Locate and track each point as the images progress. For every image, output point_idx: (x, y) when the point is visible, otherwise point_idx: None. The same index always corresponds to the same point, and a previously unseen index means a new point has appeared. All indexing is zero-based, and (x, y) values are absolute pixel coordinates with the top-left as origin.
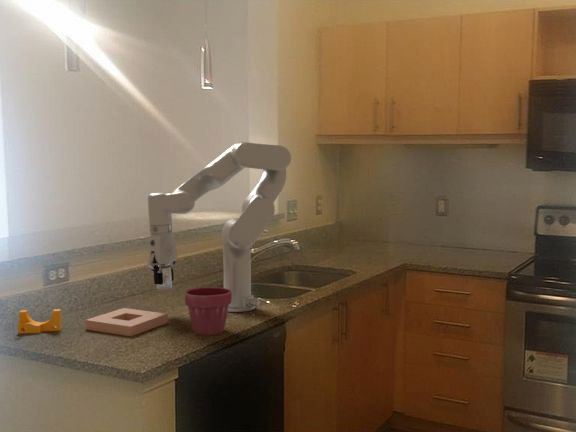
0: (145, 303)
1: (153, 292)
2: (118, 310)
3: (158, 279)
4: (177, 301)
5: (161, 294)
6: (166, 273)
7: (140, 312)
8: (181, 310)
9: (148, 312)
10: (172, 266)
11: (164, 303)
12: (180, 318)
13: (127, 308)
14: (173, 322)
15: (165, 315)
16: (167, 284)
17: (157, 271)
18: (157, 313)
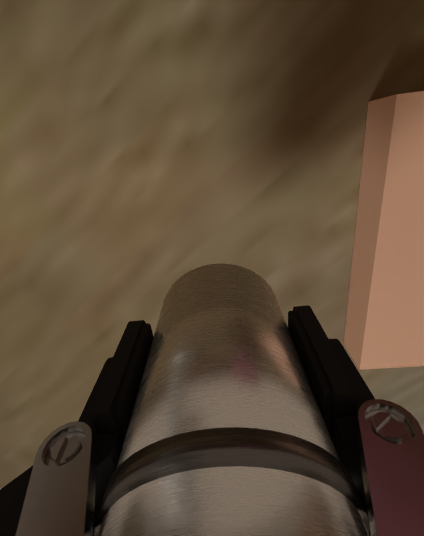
0: None
1: (17, 472)
2: (410, 358)
3: (346, 353)
4: (33, 344)
5: (12, 442)
6: (270, 363)
7: (415, 255)
8: (127, 227)
9: (403, 219)
10: (60, 465)
11: (92, 360)
12: (254, 111)
13: (361, 352)
14: (345, 78)
15: (413, 92)
16: (247, 286)
17: (413, 437)
18: (410, 156)
